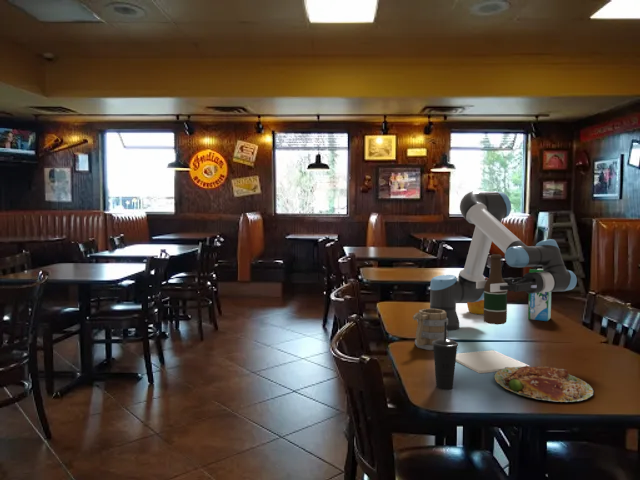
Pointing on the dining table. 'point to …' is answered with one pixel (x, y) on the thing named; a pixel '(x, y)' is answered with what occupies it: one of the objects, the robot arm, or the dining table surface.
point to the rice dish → (544, 383)
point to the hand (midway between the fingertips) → (483, 286)
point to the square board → (487, 361)
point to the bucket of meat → (476, 306)
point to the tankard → (429, 327)
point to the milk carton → (539, 304)
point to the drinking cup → (444, 360)
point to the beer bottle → (495, 295)
